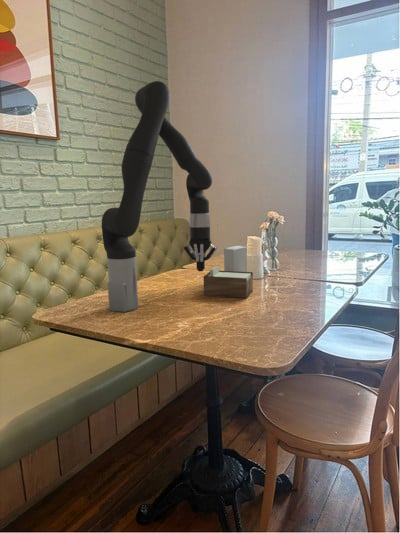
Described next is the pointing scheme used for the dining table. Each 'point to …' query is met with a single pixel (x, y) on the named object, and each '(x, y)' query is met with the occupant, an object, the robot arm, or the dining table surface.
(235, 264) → the skincare box
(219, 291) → the box
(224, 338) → the dining table surface
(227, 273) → the lid
